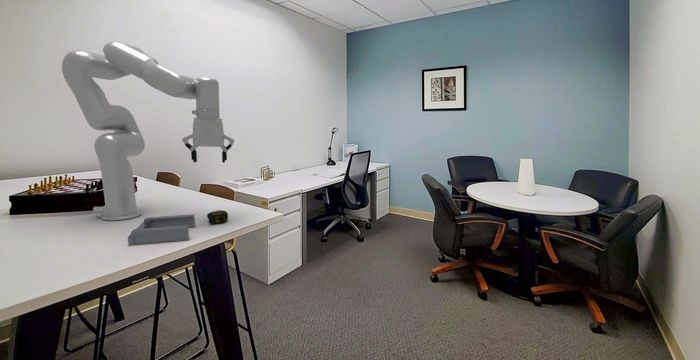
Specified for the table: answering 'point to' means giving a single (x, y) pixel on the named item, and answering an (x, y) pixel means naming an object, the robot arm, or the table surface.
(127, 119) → the robot arm
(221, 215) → the tape measure
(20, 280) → the table surface
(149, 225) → the c-clamp
